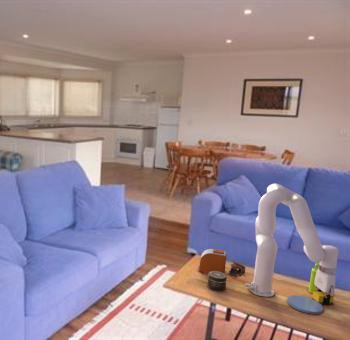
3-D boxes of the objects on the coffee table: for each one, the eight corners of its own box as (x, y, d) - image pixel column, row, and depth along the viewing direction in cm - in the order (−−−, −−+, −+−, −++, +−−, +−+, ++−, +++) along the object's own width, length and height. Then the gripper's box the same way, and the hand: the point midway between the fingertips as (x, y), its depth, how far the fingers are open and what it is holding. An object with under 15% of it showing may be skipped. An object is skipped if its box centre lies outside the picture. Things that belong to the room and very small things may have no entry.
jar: (208, 281, 215) (209, 269, 213) (226, 285, 211) (228, 273, 209) (205, 288, 206) (207, 276, 205) (224, 293, 202) (226, 280, 200)
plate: (298, 313, 184) (298, 311, 184) (281, 297, 200) (281, 295, 200) (329, 314, 185) (330, 311, 185) (310, 297, 201) (310, 295, 201)
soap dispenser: (324, 295, 204) (329, 261, 200) (310, 294, 205) (315, 260, 201) (320, 290, 209) (325, 257, 206) (307, 289, 211) (311, 255, 207)
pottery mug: (224, 272, 229) (229, 260, 230) (236, 278, 230) (241, 266, 232) (235, 276, 217) (240, 263, 218) (248, 282, 219) (253, 269, 220)
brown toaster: (224, 270, 231) (226, 249, 228) (224, 276, 223) (226, 254, 220) (200, 266, 236) (202, 245, 233) (198, 271, 228) (200, 250, 226)
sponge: (318, 304, 194) (319, 296, 194) (312, 299, 199) (313, 291, 198) (332, 304, 195) (334, 296, 194) (326, 299, 200) (327, 291, 199)
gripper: (310, 262, 202) (305, 293, 205) (331, 276, 185) (326, 309, 188) (323, 262, 202) (319, 293, 205) (345, 276, 186) (340, 310, 189)
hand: (322, 300), depth 197 cm, fingers closed on sponge, 5 cm apart
